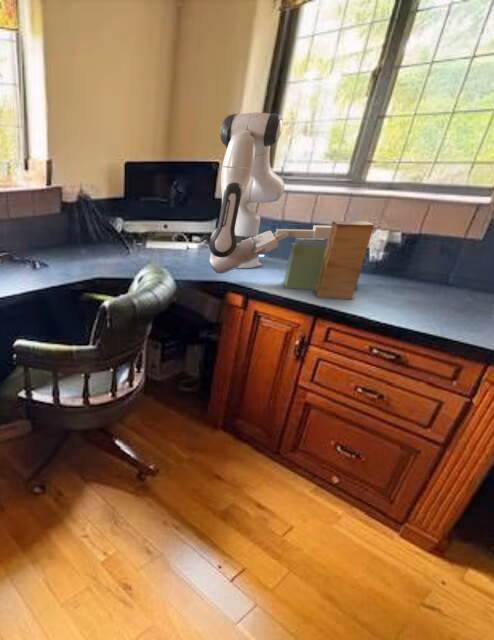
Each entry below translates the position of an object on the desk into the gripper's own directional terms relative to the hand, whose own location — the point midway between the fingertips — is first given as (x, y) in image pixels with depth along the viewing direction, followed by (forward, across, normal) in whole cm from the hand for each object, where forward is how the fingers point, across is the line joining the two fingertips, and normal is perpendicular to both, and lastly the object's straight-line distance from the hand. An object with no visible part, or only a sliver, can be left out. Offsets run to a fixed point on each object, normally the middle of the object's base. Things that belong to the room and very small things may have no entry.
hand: (287, 231), depth 163 cm
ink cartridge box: (+13, +4, +32) cm, 35 cm away
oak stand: (+6, -11, +27) cm, 30 cm away
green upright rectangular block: (-2, 0, +23) cm, 23 cm away
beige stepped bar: (+5, 0, +5) cm, 7 cm away
